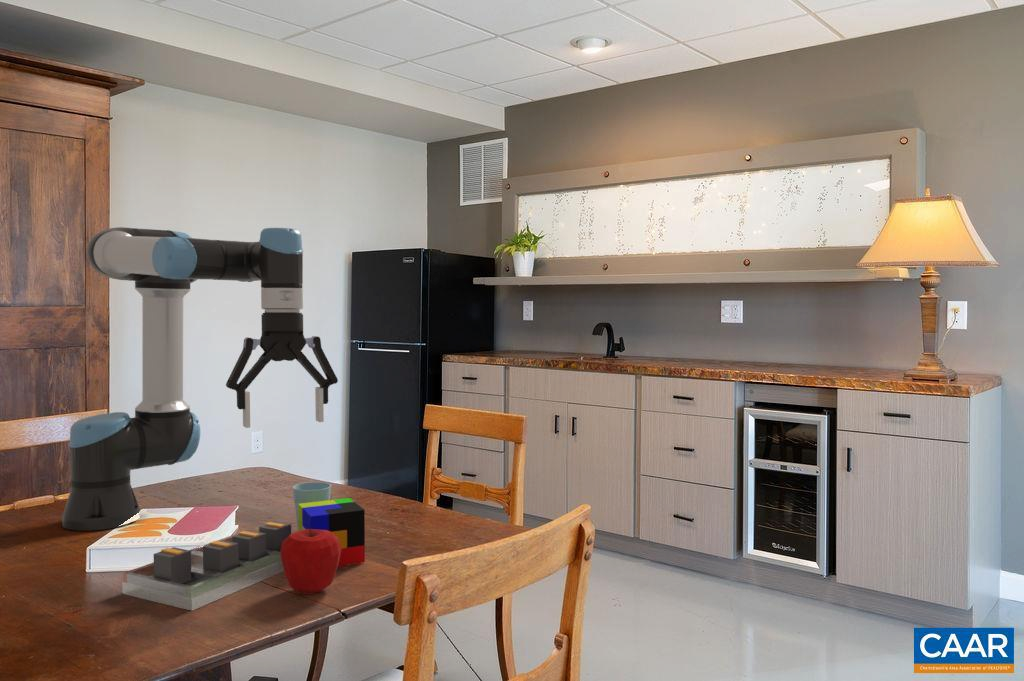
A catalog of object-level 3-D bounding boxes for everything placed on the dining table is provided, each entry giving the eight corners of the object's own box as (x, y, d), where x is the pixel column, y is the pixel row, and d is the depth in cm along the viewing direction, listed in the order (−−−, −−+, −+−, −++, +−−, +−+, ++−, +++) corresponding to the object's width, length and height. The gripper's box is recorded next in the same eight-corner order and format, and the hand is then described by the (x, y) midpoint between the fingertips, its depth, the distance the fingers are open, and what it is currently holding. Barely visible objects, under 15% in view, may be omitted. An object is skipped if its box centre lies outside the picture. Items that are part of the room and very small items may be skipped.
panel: (122, 593, 130) (122, 572, 130) (240, 550, 154) (240, 532, 153) (191, 610, 123) (191, 588, 123) (304, 562, 146) (304, 543, 146)
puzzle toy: (310, 571, 142) (310, 516, 142) (298, 555, 151) (298, 503, 150) (364, 562, 147) (364, 509, 146) (349, 547, 156) (349, 498, 155)
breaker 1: (154, 584, 129) (153, 552, 128) (174, 576, 132) (173, 545, 132) (171, 588, 127) (170, 555, 127) (191, 580, 130) (190, 548, 130)
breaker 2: (203, 575, 133) (202, 544, 132) (221, 568, 136) (221, 538, 136) (220, 579, 131) (220, 548, 131) (238, 572, 135) (238, 541, 134)
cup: (335, 538, 161) (334, 488, 161) (296, 542, 158) (296, 491, 158) (327, 528, 168) (327, 480, 168) (291, 532, 165) (290, 483, 165)
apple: (284, 605, 125) (283, 538, 125) (276, 585, 134) (276, 522, 134) (346, 596, 129) (346, 531, 129) (335, 578, 138) (334, 516, 138)
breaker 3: (232, 564, 139) (232, 534, 138) (249, 557, 142) (248, 528, 142) (249, 567, 137) (249, 537, 137) (266, 561, 140) (265, 531, 140)
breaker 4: (259, 553, 144) (259, 525, 144) (274, 547, 148) (274, 520, 148) (276, 557, 143) (275, 528, 142) (291, 550, 146) (291, 522, 146)
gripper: (215, 311, 138) (217, 431, 139) (353, 311, 150) (354, 421, 151) (208, 311, 144) (210, 426, 145) (340, 311, 157) (342, 416, 158)
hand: (284, 424), depth 148 cm, fingers open, 13 cm apart
